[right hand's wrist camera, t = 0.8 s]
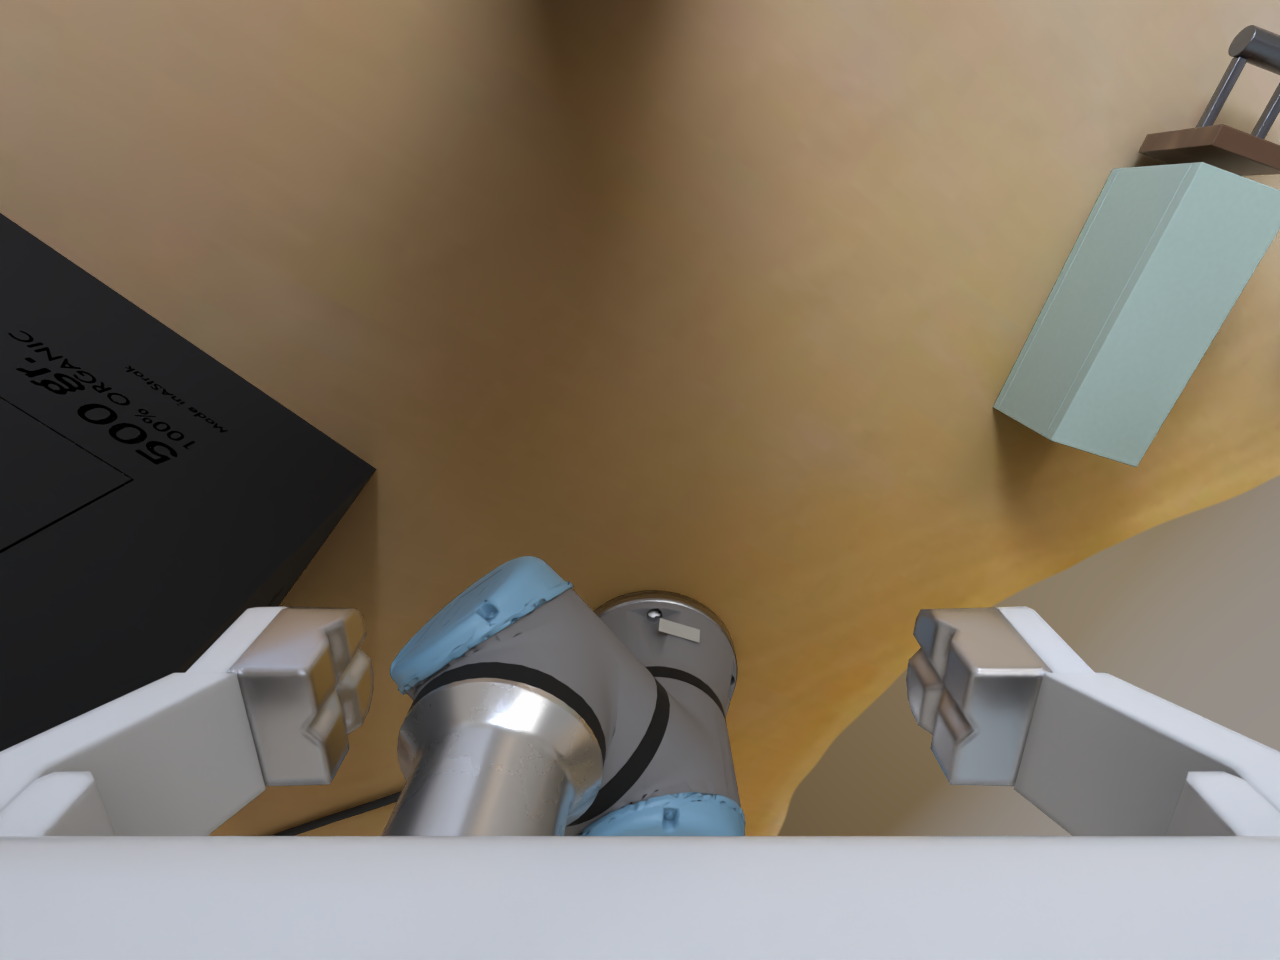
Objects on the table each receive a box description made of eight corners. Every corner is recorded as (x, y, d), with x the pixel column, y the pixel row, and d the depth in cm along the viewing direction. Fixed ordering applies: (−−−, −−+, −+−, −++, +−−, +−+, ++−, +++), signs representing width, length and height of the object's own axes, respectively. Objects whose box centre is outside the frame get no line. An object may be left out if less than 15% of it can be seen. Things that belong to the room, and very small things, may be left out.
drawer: (1196, 36, 46) (1284, 10, 40) (1269, 64, 47) (1366, 43, 41) (1026, 369, 54) (1077, 391, 48) (1090, 390, 55) (1148, 414, 49)
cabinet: (1112, 168, 50) (1202, 161, 42) (1195, 198, 51) (1299, 196, 43) (992, 407, 56) (1050, 440, 48) (1067, 430, 57) (1137, 467, 49)
